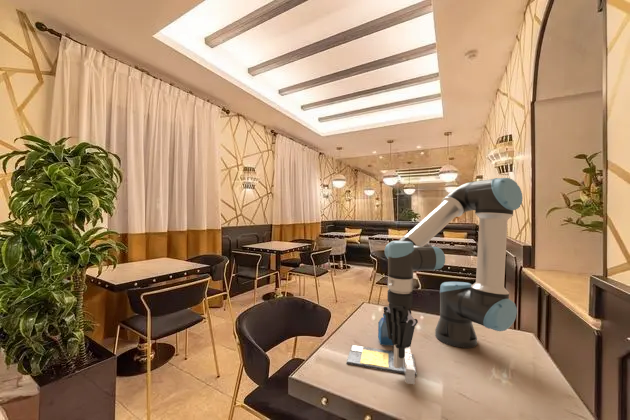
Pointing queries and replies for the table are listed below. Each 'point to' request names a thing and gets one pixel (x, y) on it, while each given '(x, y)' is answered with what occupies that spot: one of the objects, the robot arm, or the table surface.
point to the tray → (374, 359)
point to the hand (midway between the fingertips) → (398, 366)
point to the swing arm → (409, 367)
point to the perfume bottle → (383, 332)
